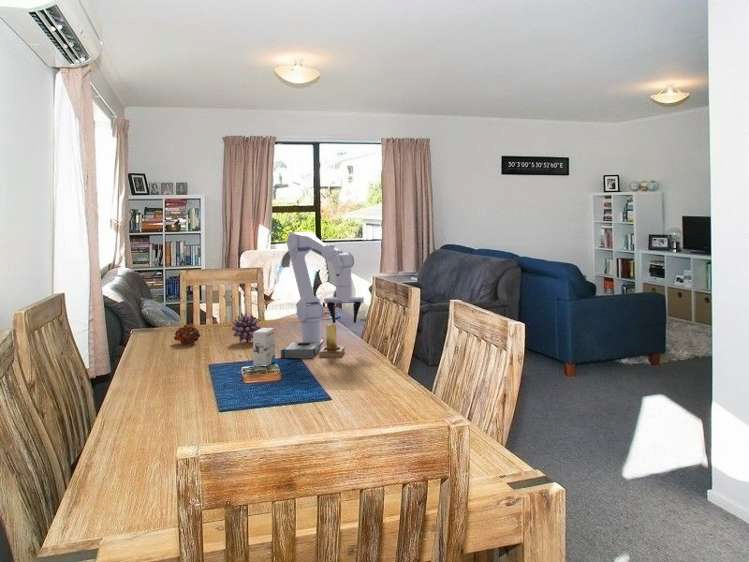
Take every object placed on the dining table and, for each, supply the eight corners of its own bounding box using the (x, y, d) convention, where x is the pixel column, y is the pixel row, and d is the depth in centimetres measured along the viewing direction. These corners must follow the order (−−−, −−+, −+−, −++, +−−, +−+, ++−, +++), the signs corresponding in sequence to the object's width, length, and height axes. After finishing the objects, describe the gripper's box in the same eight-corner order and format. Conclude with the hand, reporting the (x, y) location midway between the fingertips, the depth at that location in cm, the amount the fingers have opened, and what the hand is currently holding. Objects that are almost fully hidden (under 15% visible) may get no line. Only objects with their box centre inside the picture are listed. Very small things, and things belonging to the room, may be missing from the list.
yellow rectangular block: (327, 350, 226) (326, 324, 225) (337, 350, 226) (336, 324, 225) (326, 352, 222) (325, 326, 221) (336, 352, 222) (335, 325, 221)
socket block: (292, 350, 233) (292, 342, 233) (319, 349, 232) (318, 342, 232) (285, 357, 220) (284, 349, 220) (313, 357, 219) (312, 349, 219)
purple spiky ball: (247, 338, 259) (246, 310, 258) (267, 341, 252) (266, 312, 251) (225, 343, 249) (224, 313, 248) (246, 346, 242) (245, 316, 241)
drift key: (282, 355, 224) (282, 347, 224) (307, 355, 223) (307, 347, 223) (280, 357, 221) (280, 349, 221) (306, 357, 220) (305, 349, 220)
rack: (322, 352, 228) (322, 346, 228) (344, 352, 228) (344, 346, 227) (319, 357, 220) (319, 351, 220) (341, 356, 220) (341, 351, 219)
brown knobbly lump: (198, 349, 247) (177, 351, 253) (209, 333, 252) (188, 336, 258) (185, 334, 242) (165, 336, 248) (197, 319, 248) (176, 321, 254)
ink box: (262, 360, 216) (261, 327, 215) (276, 361, 215) (275, 327, 214) (253, 366, 208) (251, 332, 207) (267, 367, 207) (266, 332, 206)
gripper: (322, 287, 225) (323, 324, 226) (362, 286, 224) (363, 324, 225) (325, 285, 232) (326, 321, 233) (364, 284, 231) (364, 321, 232)
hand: (344, 322), depth 230 cm, fingers open, 7 cm apart
